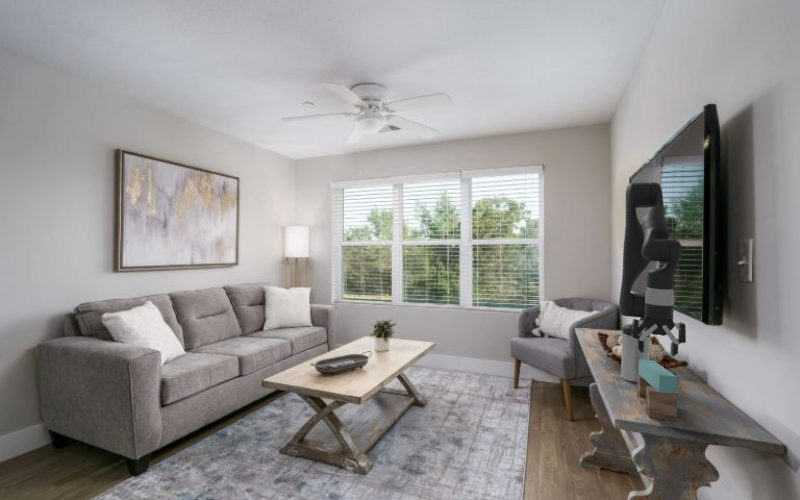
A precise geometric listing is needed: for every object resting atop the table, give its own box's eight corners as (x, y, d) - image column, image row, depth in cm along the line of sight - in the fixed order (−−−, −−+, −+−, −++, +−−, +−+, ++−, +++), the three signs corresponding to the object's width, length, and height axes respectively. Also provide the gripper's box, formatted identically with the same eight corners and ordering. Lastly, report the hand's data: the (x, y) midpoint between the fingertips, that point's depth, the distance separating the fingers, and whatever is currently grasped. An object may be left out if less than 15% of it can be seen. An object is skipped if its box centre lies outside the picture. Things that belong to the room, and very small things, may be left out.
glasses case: (638, 374, 133) (638, 359, 133) (653, 375, 132) (654, 360, 132) (658, 392, 116) (659, 375, 116) (676, 393, 115) (677, 376, 115)
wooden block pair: (636, 397, 133) (637, 373, 133) (660, 400, 131) (661, 376, 131) (648, 417, 117) (649, 390, 117) (676, 421, 115) (677, 394, 115)
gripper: (682, 302, 125) (680, 353, 125) (630, 299, 130) (629, 348, 130) (690, 306, 117) (687, 360, 118) (635, 302, 122) (633, 354, 123)
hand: (657, 353), depth 124 cm, fingers open, 8 cm apart
